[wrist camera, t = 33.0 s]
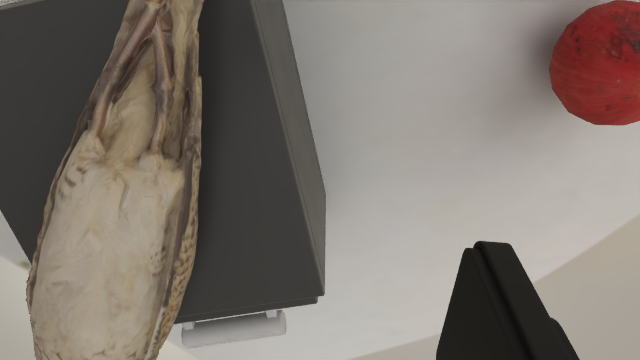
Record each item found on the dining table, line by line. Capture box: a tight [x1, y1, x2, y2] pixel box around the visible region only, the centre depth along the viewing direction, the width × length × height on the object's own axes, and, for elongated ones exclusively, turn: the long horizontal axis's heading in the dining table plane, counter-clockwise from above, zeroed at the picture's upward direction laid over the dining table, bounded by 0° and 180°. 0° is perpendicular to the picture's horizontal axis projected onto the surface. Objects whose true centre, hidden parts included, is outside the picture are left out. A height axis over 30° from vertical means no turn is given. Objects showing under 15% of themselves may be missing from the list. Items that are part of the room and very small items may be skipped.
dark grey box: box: [0, 0, 326, 317], centre depth 25 cm, size 15×13×10 cm
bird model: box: [26, 0, 204, 360], centre depth 19 cm, size 29×6×5 cm, turn 163°
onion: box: [549, 0, 640, 125], centre depth 24 cm, size 6×6×8 cm
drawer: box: [174, 297, 318, 348], centre depth 27 cm, size 18×12×8 cm, turn 11°
